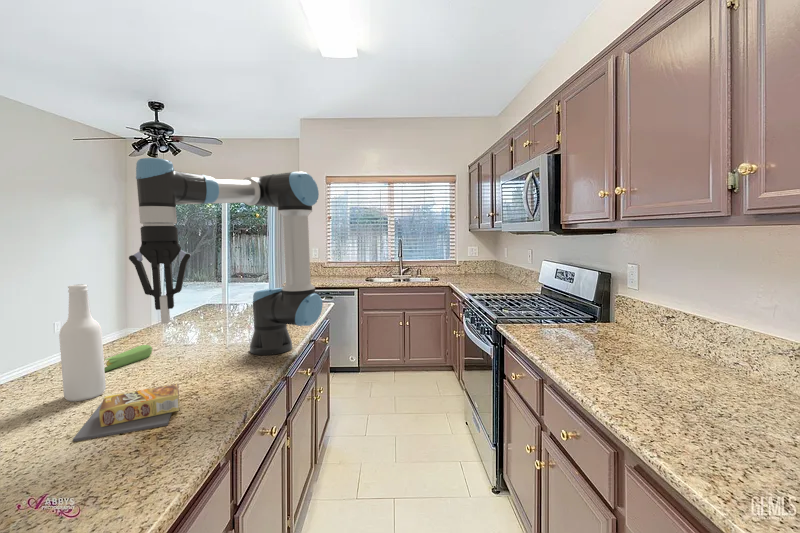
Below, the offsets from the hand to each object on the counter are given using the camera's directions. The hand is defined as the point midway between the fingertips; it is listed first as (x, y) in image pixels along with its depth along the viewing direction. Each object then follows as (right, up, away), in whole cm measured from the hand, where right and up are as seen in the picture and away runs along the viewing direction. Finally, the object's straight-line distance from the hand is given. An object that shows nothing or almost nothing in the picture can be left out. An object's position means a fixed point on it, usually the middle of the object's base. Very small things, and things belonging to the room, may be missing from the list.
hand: (165, 322), depth 95 cm
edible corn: (-35, -20, +37) cm, 55 cm away
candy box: (+2, -19, +2) cm, 19 cm away
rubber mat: (-7, -22, -2) cm, 23 cm away
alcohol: (-28, -21, +10) cm, 36 cm away
